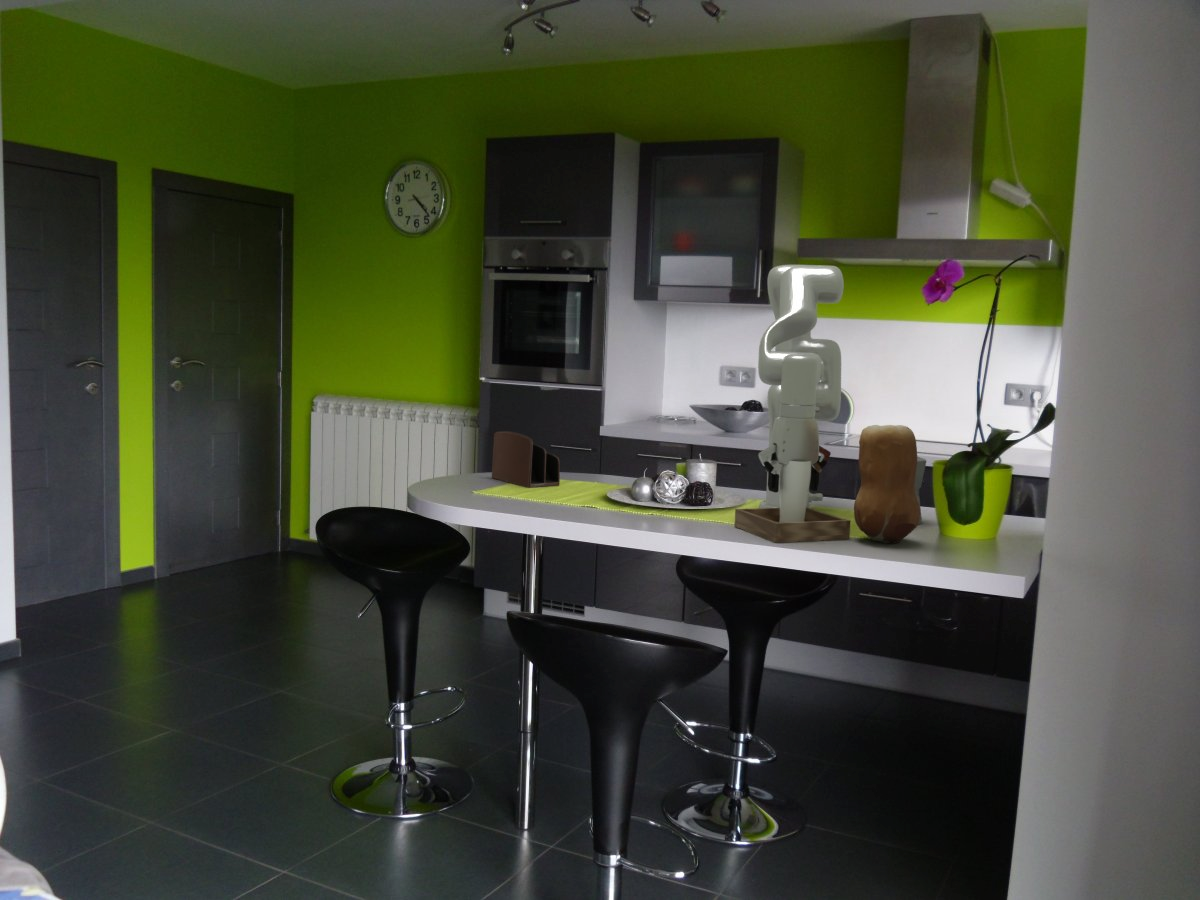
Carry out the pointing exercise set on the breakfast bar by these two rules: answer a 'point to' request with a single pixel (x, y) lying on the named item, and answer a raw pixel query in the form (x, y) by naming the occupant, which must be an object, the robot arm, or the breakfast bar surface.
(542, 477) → the letter holder
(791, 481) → the drinking glass
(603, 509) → the breakfast bar surface
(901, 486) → the butternut squash
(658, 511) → the breakfast bar surface
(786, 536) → the walnut tray
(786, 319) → the robot arm
